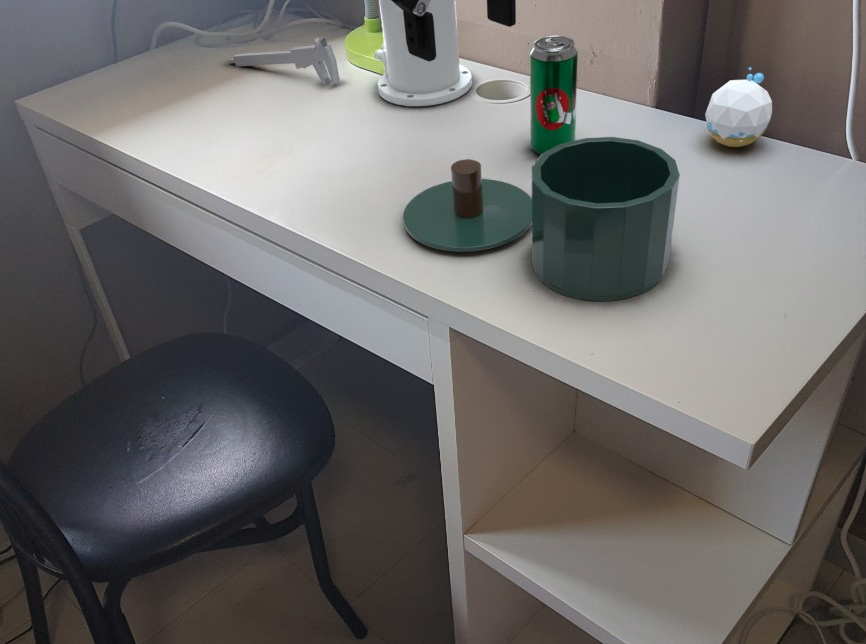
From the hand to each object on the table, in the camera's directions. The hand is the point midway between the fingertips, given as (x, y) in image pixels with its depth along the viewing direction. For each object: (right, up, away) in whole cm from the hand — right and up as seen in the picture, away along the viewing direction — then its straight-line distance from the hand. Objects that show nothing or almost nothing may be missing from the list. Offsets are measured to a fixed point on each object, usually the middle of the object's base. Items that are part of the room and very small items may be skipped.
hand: (463, 39), depth 76 cm
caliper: (-25, +14, +44) cm, 52 cm away
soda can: (+11, -4, +21) cm, 24 cm away
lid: (+1, -14, +11) cm, 17 cm away
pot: (+13, -19, +4) cm, 24 cm away
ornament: (+31, -4, +19) cm, 36 cm away
